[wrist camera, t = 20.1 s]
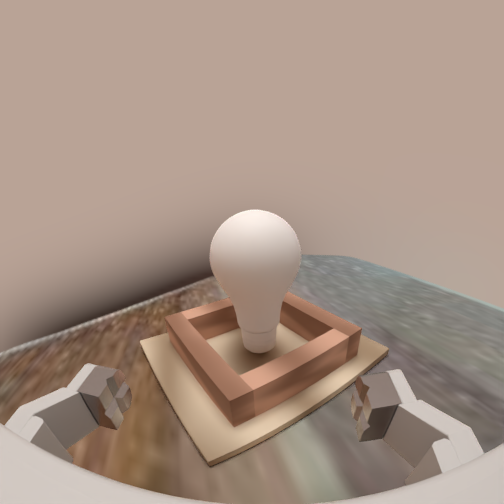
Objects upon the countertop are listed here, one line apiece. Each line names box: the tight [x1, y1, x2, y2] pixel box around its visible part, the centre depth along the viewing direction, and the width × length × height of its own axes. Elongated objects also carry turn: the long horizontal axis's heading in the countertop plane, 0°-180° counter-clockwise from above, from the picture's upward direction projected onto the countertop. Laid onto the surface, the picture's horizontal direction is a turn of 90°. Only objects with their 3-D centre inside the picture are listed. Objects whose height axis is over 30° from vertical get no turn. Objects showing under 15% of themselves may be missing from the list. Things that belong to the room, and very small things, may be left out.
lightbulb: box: [210, 210, 301, 353], centre depth 20 cm, size 6×6×11 cm
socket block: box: [140, 291, 389, 466], centre depth 21 cm, size 16×14×3 cm
